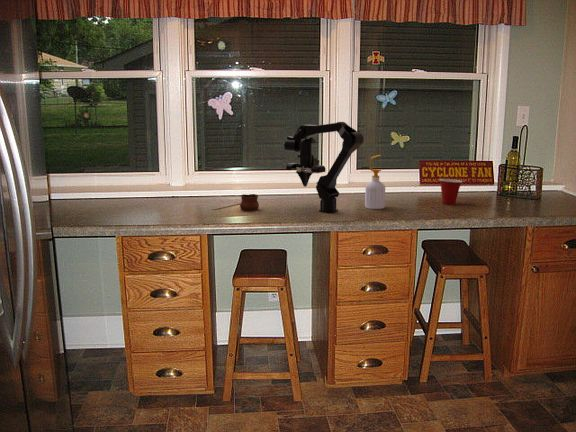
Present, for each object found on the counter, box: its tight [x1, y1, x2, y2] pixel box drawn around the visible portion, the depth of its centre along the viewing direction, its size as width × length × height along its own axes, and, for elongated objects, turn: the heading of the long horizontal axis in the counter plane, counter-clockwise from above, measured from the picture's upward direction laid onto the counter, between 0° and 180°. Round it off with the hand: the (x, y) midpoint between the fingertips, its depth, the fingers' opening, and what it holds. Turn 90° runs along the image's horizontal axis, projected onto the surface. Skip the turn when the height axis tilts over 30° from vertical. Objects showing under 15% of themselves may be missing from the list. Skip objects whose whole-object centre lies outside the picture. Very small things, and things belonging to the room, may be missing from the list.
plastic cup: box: [439, 178, 463, 206], centre depth 264 cm, size 11×11×12 cm
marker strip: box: [211, 202, 241, 211], centre depth 256 cm, size 1×22×1 cm, turn 143°
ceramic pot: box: [239, 193, 260, 212], centre depth 249 cm, size 18×18×7 cm
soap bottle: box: [364, 154, 386, 210], centre depth 252 cm, size 9×9×25 cm
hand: (305, 186), depth 251 cm, fingers closed
